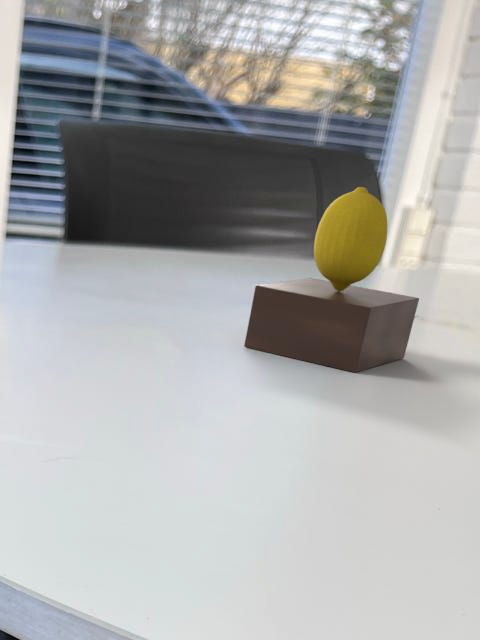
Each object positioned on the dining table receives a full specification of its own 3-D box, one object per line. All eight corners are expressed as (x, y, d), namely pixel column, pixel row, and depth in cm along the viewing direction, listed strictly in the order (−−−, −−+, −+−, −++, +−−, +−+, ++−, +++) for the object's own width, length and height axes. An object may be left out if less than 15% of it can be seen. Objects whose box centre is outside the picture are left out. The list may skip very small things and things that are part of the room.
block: (297, 335, 96) (309, 277, 94) (404, 358, 90) (419, 298, 88) (243, 346, 89) (255, 285, 87) (355, 372, 83) (370, 307, 81)
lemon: (362, 300, 84) (388, 191, 80) (295, 288, 87) (317, 183, 83) (381, 293, 88) (406, 190, 85) (316, 283, 91) (338, 182, 87)
